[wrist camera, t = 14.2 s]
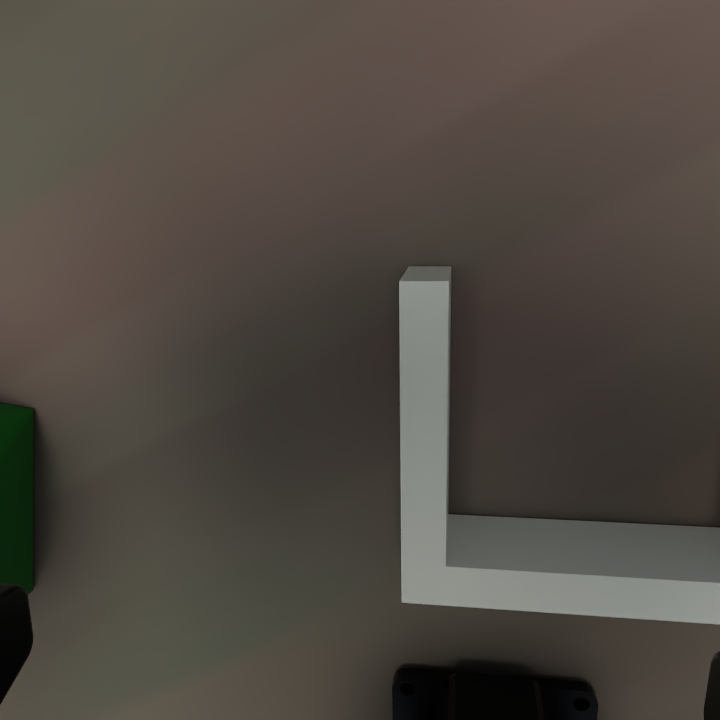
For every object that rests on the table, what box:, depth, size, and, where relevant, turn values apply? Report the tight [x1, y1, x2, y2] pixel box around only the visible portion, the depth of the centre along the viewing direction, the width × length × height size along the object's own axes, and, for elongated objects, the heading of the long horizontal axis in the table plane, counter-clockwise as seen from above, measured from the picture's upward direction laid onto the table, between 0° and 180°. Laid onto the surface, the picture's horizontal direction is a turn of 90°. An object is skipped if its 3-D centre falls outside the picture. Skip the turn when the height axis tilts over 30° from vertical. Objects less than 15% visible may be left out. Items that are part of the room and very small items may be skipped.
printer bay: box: [399, 266, 720, 624], centre depth 18 cm, size 9×10×3 cm
